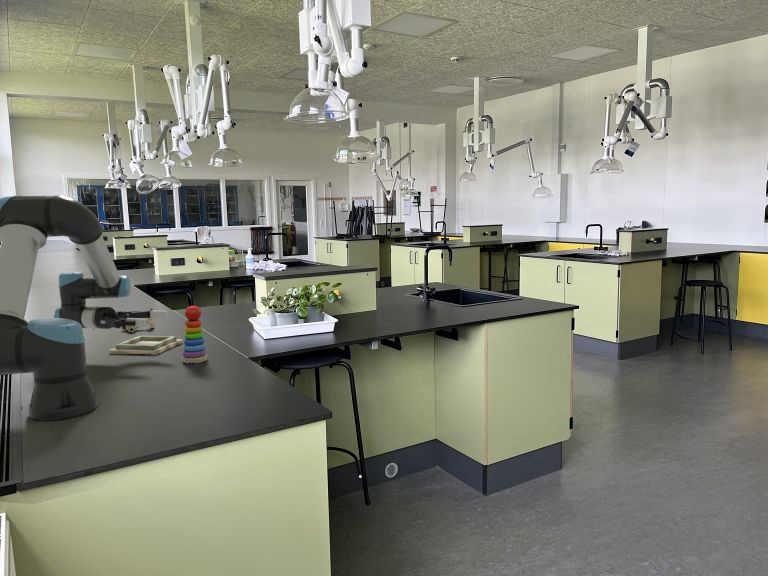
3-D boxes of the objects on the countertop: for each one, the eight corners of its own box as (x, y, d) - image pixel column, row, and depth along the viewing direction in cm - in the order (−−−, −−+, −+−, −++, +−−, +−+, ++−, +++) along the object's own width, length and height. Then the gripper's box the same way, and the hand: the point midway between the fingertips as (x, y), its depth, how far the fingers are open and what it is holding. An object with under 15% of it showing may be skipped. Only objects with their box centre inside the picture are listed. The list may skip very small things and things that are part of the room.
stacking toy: (199, 364, 182) (196, 308, 179) (177, 363, 184) (173, 308, 181) (211, 358, 190) (208, 304, 187) (190, 357, 191) (186, 304, 189)
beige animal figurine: (154, 325, 246) (156, 331, 237) (125, 334, 242) (125, 341, 233) (149, 309, 244) (150, 315, 235) (119, 318, 239) (119, 324, 230)
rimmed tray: (155, 355, 195) (155, 346, 195) (109, 354, 198) (108, 345, 198) (182, 343, 213) (182, 335, 213) (139, 342, 216) (139, 334, 216)
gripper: (123, 320, 204) (177, 321, 200) (75, 336, 179) (136, 338, 176) (121, 300, 203) (175, 301, 199) (73, 314, 178) (134, 315, 175)
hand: (157, 318), depth 188 cm, fingers open, 13 cm apart
